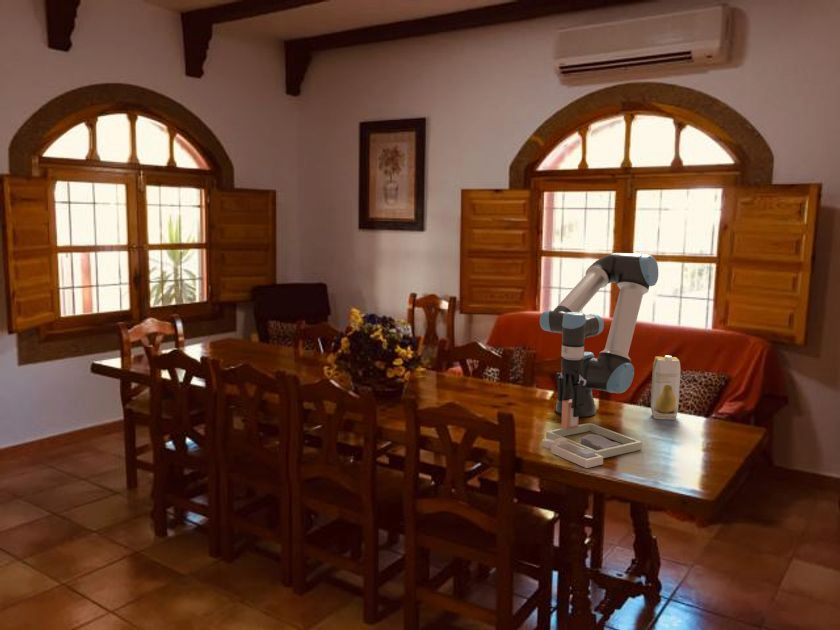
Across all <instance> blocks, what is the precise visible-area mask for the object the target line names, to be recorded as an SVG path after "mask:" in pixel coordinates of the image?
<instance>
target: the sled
mask: <svg viewBox="0 0 840 630" xmlns="http://www.w3.org/2000/svg"><path fill="white" fill-rule="evenodd" d="M567 439H568V438H567ZM567 439H564V438H558V439H555V444H554V445H552V448H551V453H552V454H553V455H556V456H558V457H560V458H562V459H565V460H567V461H569V462H571V463H574V464H575V465H576V464H577V466H578V465H579V466H580V467H583V468H585V469H589V468H592V467H593V468H594V467H597V466H601V465H604V458H603V456H601V455H598V454H596V453H595V457H592V458H588V459H586V458H583V457H581V456H579V455H576V454H577V450H580V449H584V448H582V447H579V446H577V445H574V444H572V443H570V442H567Z"/></svg>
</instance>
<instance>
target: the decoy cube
mask: <svg viewBox="0 0 840 630" xmlns="http://www.w3.org/2000/svg"><path fill="white" fill-rule="evenodd" d="M576 455H579V456H581V457H583V458H586V459H588V458H592V457H595V452H594V451H592V450H589V449H587V448H585V449H580V450H577V454H576Z"/></svg>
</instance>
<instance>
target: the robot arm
mask: <svg viewBox="0 0 840 630" xmlns="http://www.w3.org/2000/svg"><path fill="white" fill-rule="evenodd" d="M658 279H659V265H658V262H657V260H656V258H655V257H654V256H653V255H651V254H646V253H645V254H644V253H630V252H629V253H628V252H627V253H626V252H625V253H624V252H613V253H610V254H609V253H608V254H606V255H605V256H603V257H600V258H599V259H597V260H595V261H594V262H593V263H592V264H591V265H590V266H588V268H587V269H586V270H585V275H584V276H583V278H582V279H580V280H579V282H578V283H577V284H576V285H575V286H574V287H573V288H572V290H571V291H570V292H569V293H568V294H567V295H566V296H565V297H564V298H563V299H562V300H561V302H559V303H558V305H557V306H556V307H555V308H554V310H544V311H542V313H541V315H540V318H539V325H540V328H541V329H542V330H543V331H546V332H550V333H558V334H561V335H562V336H561V337H562V338H561V358H560V367H561V372H557V373H556V380H557V381H556V383H557V402H556V404H555V411H556V413H558V414H560V415H562V401H564V400H570V399H572V406H571V411H570V426H576V425H577V421H578V422H579V419H578V416H579V417H582V418H585V417H591V416H594V415H596V412H597V406H596V404H595V403H596V402H595V399H594V396H593V389H594V390H598V391H604V392H607V393H611V394H612V393H613V394H614V393H615V394H622V393H623V394H624V393H625V392H626V391H627V390H628V389H629V388H630V386H631V385H632V382H633V379H634V376H635V367H634V365H633V364H632V363H631V361H632V359H631V358H630V356H629V352H630V348H631V345H632V340H633V336H634V333H635V328H636V324H637V319H638V316H639V313H640V308H641V304H642V301H643V297H644V295H645V294H647V293H649V289H650V287H653V286H655V285H656V284H657V282H658ZM612 283H613V284H614V283H617V288H618V289H619V292H618V297H617V300H616V304H615V308H614V312H613V316H612V320H611V323H610V327H609V328H610V329H609V333H608V335H607V338H606V339H607V340H606V343H605V347H604V349H603V350H601V351H599V354H598V357H595V355H594V352H591V351H585V339H587V338H591V337H596V336H598V335H600V334H601V333H602V332H603V330H604V327H605V323H604V320H603V318H602V317H601V316H600V315H598V314H595V313H594V314H592V313H591V314H590V313H589V314H585V313H583V312H581V311H582V310H583V309H584V308H585V306H586V305H587V304H588V303H589V302H590V301H591V299H593V297H594V296H595V295H597V293H598V292H599V290H601V289H603V288H605V287H607V286H608V284H612Z"/></svg>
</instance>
